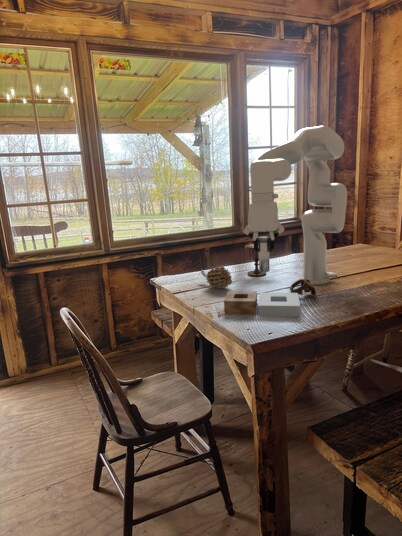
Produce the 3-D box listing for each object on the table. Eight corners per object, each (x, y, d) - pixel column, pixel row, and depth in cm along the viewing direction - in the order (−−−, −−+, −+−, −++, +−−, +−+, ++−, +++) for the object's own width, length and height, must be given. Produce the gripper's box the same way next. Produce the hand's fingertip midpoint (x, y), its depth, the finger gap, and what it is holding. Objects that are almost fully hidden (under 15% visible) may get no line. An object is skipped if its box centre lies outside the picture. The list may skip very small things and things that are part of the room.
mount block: (257, 304, 139) (256, 291, 138) (255, 314, 129) (255, 301, 128) (228, 303, 142) (227, 291, 140) (224, 314, 131) (224, 301, 130)
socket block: (297, 302, 138) (297, 292, 137) (300, 316, 125) (300, 305, 124) (259, 302, 141) (259, 292, 140) (258, 316, 127) (258, 305, 126)
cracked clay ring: (318, 303, 138) (307, 286, 136) (295, 310, 143) (284, 294, 141) (321, 286, 147) (311, 270, 145) (299, 294, 153) (289, 278, 151)
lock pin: (270, 269, 132) (269, 236, 129) (270, 272, 128) (269, 238, 125) (258, 269, 133) (257, 236, 130) (258, 272, 129) (256, 238, 126)
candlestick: (272, 275, 177) (271, 201, 168) (252, 278, 173) (250, 203, 165) (261, 270, 187) (259, 200, 178) (241, 273, 183) (239, 202, 175)
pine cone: (239, 289, 159) (238, 266, 157) (222, 294, 153) (221, 271, 151) (207, 279, 176) (206, 259, 174) (191, 284, 171) (189, 263, 168)
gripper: (288, 196, 126) (288, 248, 130) (239, 198, 129) (241, 249, 134) (288, 197, 118) (288, 253, 123) (236, 200, 122) (238, 254, 127)
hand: (264, 250), depth 128 cm, fingers closed on lock pin, 4 cm apart
